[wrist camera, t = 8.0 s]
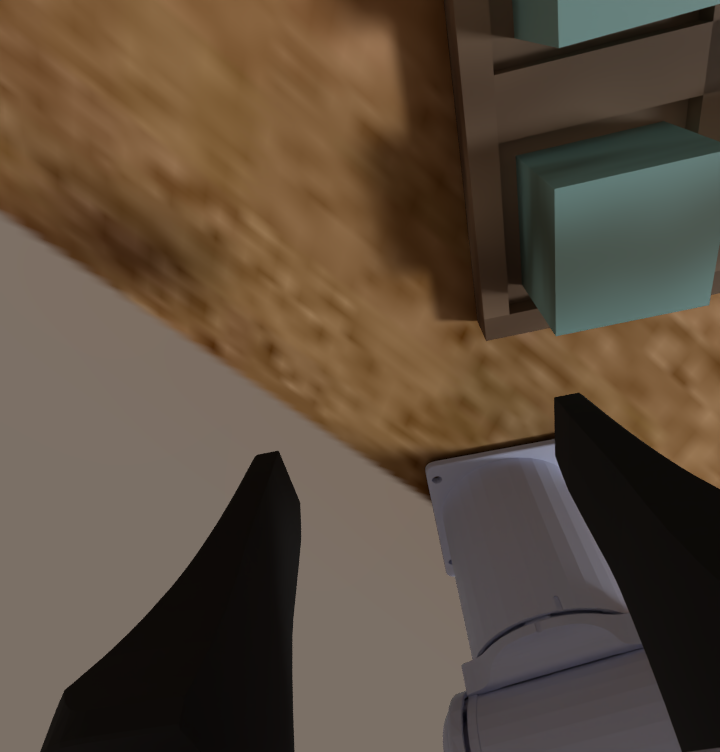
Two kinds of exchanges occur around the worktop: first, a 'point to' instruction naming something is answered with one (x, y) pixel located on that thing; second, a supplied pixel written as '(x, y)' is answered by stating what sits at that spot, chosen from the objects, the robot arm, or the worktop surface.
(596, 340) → the worktop surface
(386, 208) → the worktop surface
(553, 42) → the teal block
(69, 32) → the worktop surface
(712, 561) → the robot arm
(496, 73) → the puzzle tray
